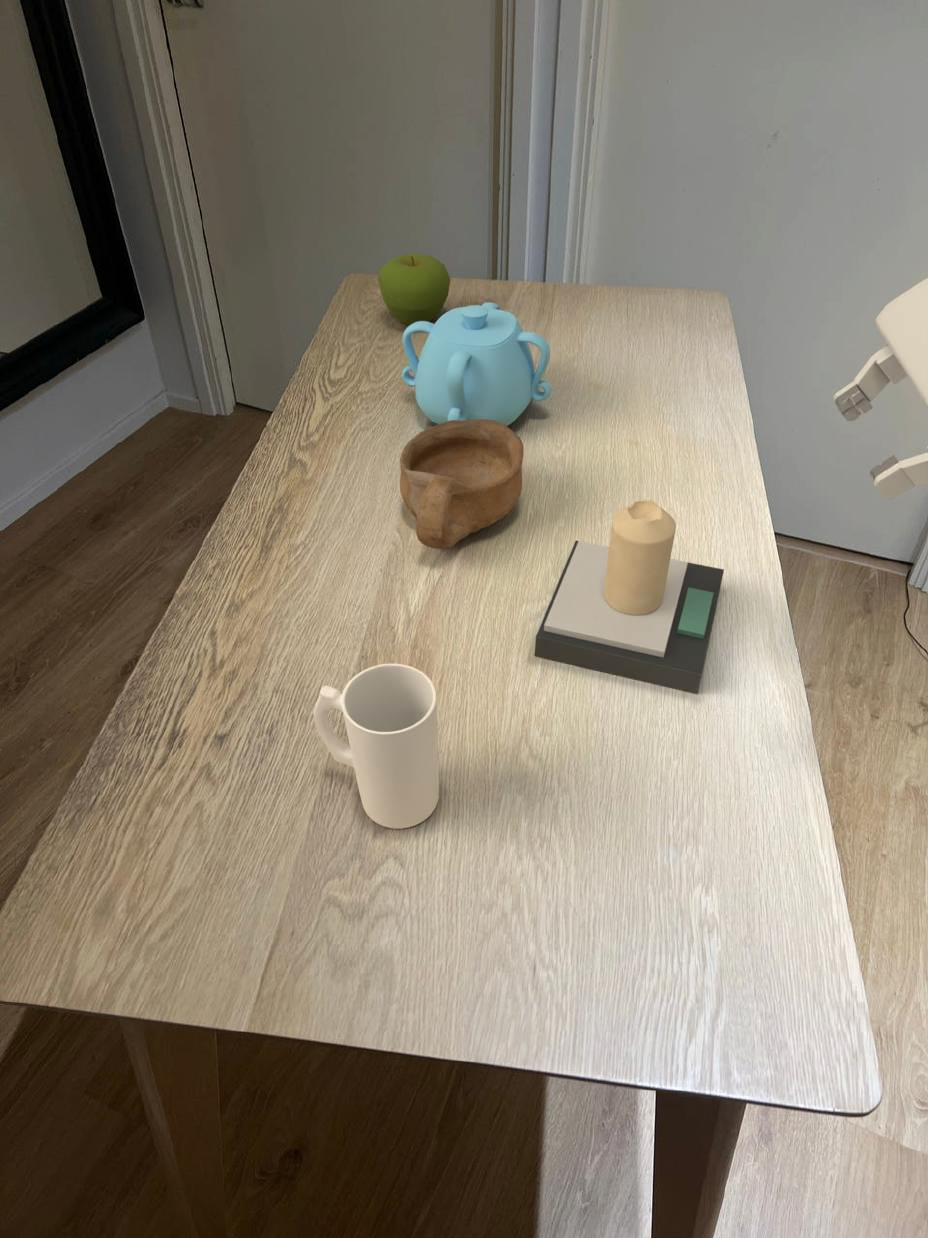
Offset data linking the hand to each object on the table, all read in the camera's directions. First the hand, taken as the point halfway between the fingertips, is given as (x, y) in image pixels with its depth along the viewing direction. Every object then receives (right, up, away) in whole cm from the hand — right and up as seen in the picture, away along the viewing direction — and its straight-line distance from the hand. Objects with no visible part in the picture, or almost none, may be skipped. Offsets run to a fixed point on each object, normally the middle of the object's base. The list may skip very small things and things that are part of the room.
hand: (857, 446), depth 58 cm
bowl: (-26, -1, +40) cm, 48 cm away
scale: (-10, -12, +28) cm, 32 cm away
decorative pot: (-24, +16, +57) cm, 64 cm away
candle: (-10, -9, +25) cm, 29 cm away
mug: (-32, -25, +14) cm, 43 cm away
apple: (-33, +34, +76) cm, 90 cm away
